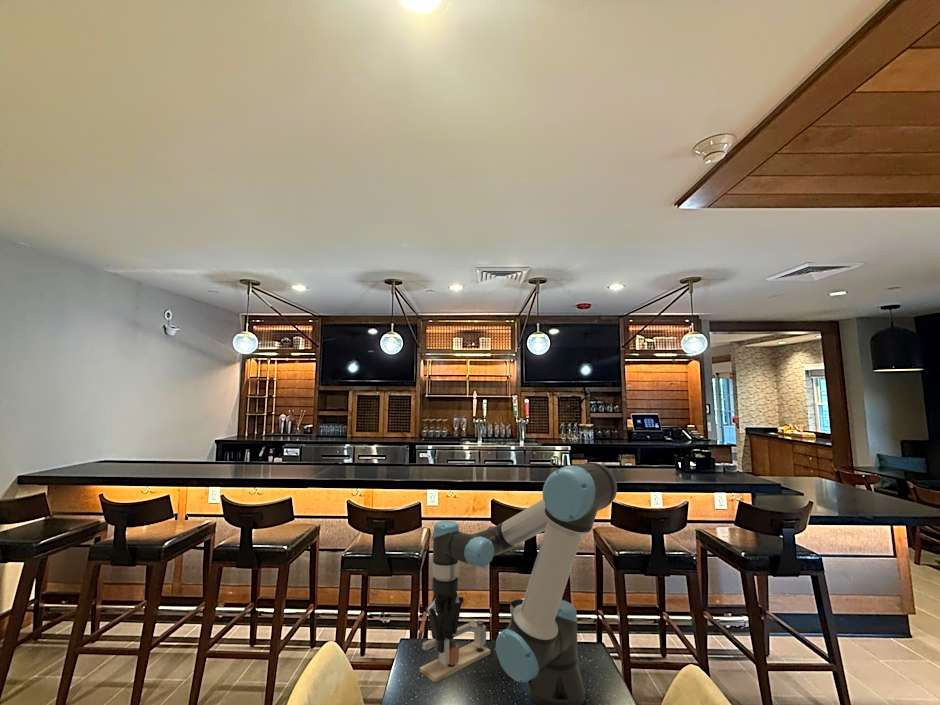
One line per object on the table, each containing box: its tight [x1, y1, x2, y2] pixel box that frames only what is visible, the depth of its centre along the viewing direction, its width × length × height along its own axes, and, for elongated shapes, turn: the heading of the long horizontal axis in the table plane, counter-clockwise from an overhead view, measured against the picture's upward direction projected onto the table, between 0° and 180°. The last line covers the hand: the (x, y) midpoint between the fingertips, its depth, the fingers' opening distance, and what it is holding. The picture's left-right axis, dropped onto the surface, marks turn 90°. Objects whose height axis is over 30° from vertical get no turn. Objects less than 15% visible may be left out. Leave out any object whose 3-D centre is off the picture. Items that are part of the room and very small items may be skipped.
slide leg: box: [449, 638, 460, 665], centre depth 135 cm, size 8×3×6 cm, turn 43°
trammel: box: [421, 620, 487, 651], centre depth 136 cm, size 6×20×8 cm, turn 134°
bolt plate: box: [419, 641, 491, 683], centre depth 136 cm, size 7×22×1 cm, turn 134°
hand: (444, 662), depth 131 cm, fingers closed
